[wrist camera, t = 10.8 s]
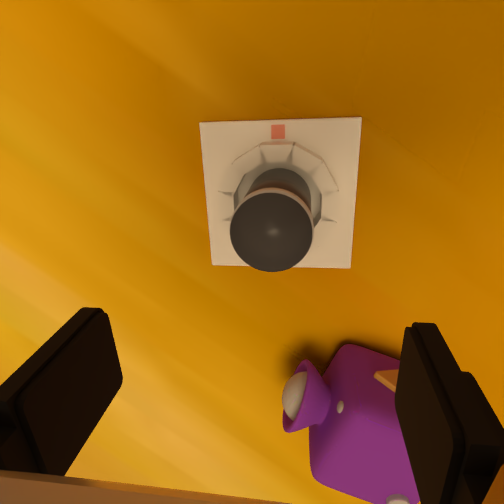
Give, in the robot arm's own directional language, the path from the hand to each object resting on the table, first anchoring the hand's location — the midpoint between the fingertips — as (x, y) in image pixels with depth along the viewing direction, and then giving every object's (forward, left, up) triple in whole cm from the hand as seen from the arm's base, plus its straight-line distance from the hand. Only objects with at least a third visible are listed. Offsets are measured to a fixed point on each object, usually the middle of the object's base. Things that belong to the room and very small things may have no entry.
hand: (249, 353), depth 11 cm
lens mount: (0, 0, -20) cm, 20 cm away
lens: (0, 0, -19) cm, 19 cm away
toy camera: (-7, +19, -21) cm, 29 cm away
